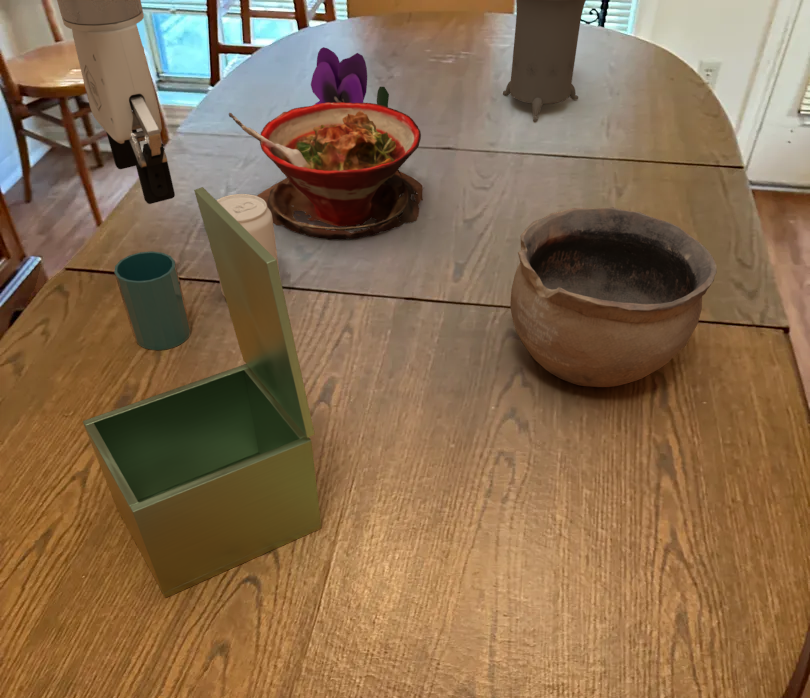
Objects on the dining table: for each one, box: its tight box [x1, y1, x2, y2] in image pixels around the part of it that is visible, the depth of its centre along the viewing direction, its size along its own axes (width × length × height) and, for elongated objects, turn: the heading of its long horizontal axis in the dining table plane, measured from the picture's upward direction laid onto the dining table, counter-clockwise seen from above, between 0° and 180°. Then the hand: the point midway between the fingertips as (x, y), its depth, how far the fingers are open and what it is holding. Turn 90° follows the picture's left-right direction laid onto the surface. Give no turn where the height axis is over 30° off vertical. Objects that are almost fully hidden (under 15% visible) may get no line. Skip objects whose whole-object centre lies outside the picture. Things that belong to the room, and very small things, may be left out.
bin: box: [82, 363, 322, 599], centre depth 76 cm, size 17×14×12 cm
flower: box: [310, 47, 390, 108], centre depth 139 cm, size 15×15×14 cm
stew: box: [228, 102, 424, 241], centre depth 117 cm, size 28×24×16 cm
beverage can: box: [215, 193, 280, 298], centre depth 104 cm, size 8×8×12 cm
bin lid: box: [193, 186, 316, 438], centre depth 67 cm, size 17×14×1 cm
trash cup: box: [113, 250, 192, 351], centre depth 98 cm, size 7×7×10 cm
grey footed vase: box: [502, 0, 587, 123], centre depth 143 cm, size 19×15×25 cm
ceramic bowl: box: [509, 206, 717, 388], centre depth 92 cm, size 22×22×15 cm
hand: (145, 182), depth 87 cm, fingers open, 9 cm apart
